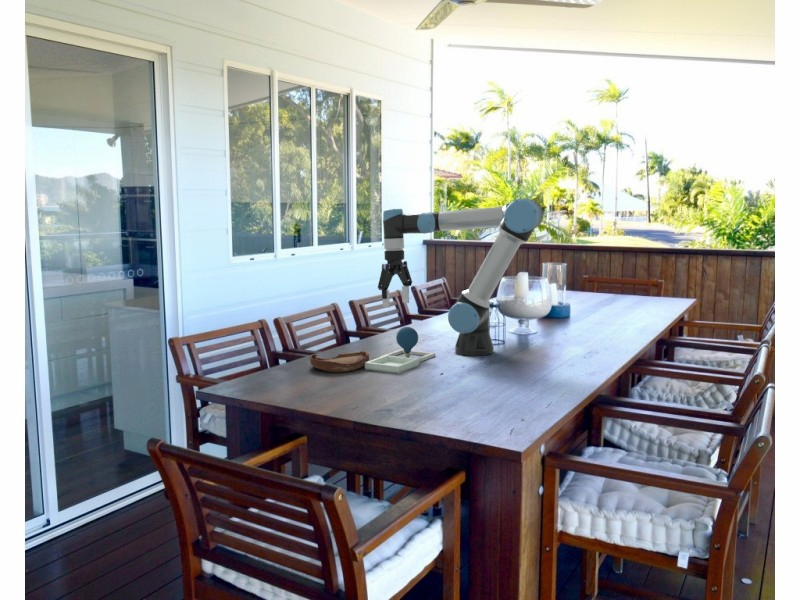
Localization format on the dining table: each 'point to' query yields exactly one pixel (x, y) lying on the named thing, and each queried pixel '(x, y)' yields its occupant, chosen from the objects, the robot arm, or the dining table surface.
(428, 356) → the pale square frame
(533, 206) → the robot arm
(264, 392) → the dining table surface
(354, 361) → the basket
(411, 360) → the tray
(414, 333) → the light bulb
